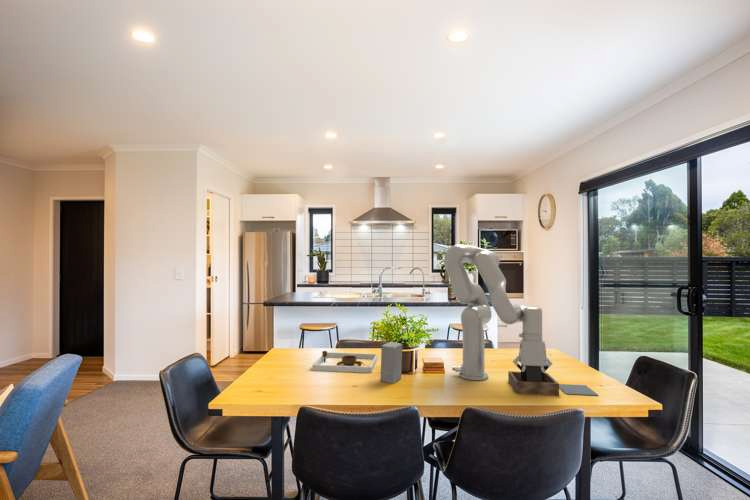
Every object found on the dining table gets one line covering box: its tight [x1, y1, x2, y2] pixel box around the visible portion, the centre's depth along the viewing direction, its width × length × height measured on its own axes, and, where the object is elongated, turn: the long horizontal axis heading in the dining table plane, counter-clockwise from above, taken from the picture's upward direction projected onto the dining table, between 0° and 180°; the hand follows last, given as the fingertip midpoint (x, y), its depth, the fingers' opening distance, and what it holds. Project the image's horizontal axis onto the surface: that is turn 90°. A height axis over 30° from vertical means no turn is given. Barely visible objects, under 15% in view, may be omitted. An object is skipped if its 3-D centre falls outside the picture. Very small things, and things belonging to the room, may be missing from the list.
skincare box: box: [380, 341, 403, 385], centre depth 172 cm, size 8×7×16 cm
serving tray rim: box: [312, 351, 379, 374], centre depth 197 cm, size 28×26×2 cm
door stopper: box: [522, 366, 542, 382], centre depth 163 cm, size 9×6×12 cm, turn 172°
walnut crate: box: [507, 370, 560, 396], centre depth 163 cm, size 16×15×4 cm
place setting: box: [321, 350, 366, 367], centre depth 198 cm, size 18×20×6 cm
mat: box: [559, 383, 599, 397], centre depth 161 cm, size 12×12×1 cm
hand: (532, 380), depth 163 cm, fingers closed on door stopper, 6 cm apart
